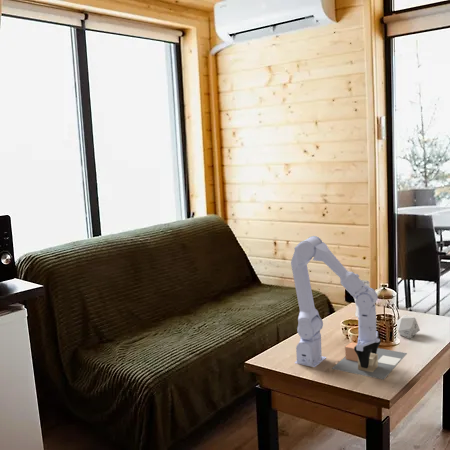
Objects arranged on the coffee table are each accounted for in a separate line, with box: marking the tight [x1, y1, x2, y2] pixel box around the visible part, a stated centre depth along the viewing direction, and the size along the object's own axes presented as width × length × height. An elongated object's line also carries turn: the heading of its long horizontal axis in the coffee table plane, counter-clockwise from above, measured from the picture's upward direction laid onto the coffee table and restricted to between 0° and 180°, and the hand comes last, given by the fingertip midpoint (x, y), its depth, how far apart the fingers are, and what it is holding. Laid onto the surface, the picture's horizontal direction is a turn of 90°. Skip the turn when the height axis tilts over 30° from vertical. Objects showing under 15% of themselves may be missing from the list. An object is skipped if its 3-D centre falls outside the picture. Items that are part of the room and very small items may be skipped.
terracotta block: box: [344, 342, 358, 361], centre depth 195 cm, size 5×5×4 cm
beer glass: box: [353, 279, 371, 318], centre depth 239 cm, size 7×7×15 cm
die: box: [395, 314, 421, 339], centre depth 214 cm, size 8×9×10 cm
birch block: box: [358, 353, 378, 372], centre depth 187 cm, size 5×5×4 cm
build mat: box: [331, 347, 408, 381], centre depth 193 cm, size 24×18×1 cm
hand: (367, 364), depth 187 cm, fingers open, 6 cm apart
